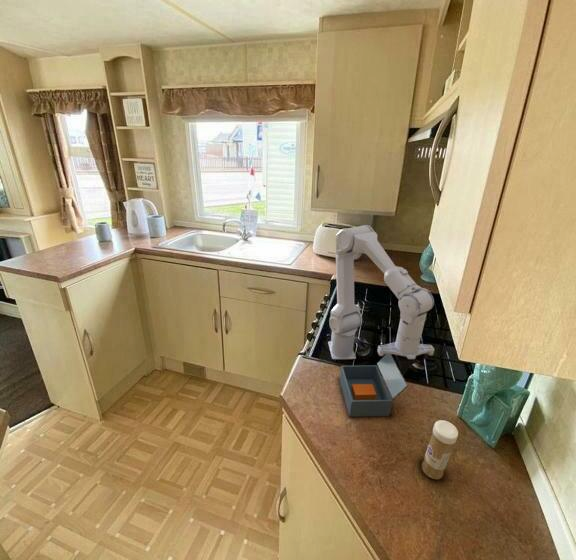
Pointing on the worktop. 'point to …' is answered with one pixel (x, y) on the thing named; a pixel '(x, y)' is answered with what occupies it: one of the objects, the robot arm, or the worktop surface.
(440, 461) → the sprinkles bottle
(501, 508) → the worktop surface
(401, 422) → the worktop surface
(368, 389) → the packet
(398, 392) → the flap
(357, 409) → the grey open box
